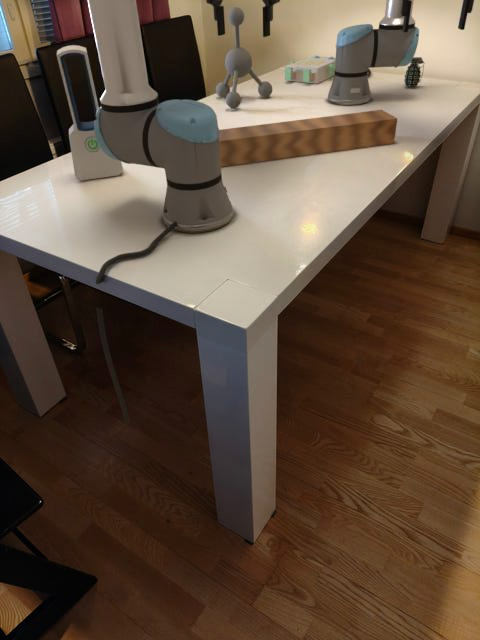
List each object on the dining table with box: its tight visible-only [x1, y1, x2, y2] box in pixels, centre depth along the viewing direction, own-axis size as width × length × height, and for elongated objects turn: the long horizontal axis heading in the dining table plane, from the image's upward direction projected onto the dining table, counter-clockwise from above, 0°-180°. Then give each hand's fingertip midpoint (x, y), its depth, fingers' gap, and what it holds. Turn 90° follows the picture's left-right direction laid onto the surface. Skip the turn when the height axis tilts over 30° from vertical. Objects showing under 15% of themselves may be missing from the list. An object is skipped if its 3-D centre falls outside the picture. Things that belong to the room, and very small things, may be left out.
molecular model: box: [215, 6, 273, 109], centre depth 175 cm, size 24×22×30 cm
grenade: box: [404, 56, 426, 89], centre depth 185 cm, size 7×6×10 cm
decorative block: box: [284, 55, 336, 84], centre depth 206 cm, size 26×6×20 cm
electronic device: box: [56, 44, 124, 181], centre depth 122 cm, size 12×8×30 cm, turn 105°
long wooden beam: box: [219, 109, 398, 168], centre depth 136 cm, size 60×10×7 cm, turn 104°
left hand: (243, 35), depth 129 cm, fingers open, 13 cm apart
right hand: (432, 30), depth 121 cm, fingers open, 13 cm apart
